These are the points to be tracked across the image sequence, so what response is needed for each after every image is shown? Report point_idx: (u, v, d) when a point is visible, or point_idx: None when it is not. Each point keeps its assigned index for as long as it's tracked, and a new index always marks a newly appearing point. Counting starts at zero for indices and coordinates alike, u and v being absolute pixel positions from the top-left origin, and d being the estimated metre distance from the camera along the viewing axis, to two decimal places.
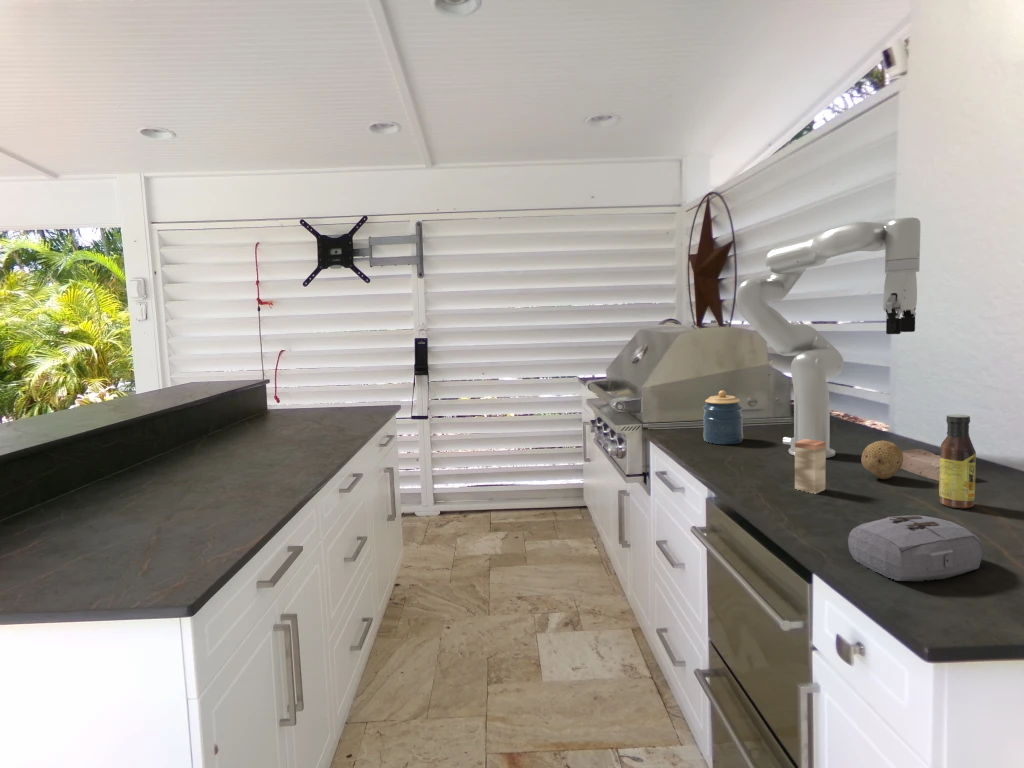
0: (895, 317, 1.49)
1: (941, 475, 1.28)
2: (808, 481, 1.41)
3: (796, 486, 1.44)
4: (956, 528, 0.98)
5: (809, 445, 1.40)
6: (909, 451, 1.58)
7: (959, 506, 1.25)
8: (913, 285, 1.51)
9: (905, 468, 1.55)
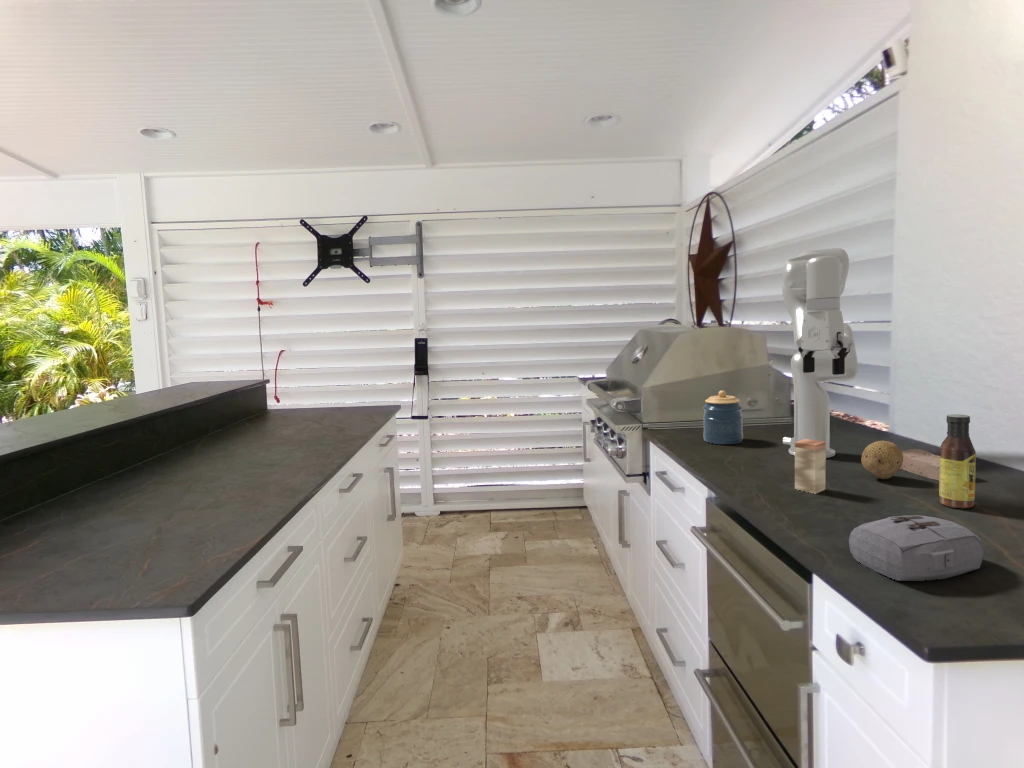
0: (844, 357, 1.43)
1: (941, 475, 1.28)
2: (808, 481, 1.41)
3: (796, 486, 1.44)
4: (957, 528, 0.98)
5: (809, 445, 1.40)
6: (908, 451, 1.58)
7: (959, 506, 1.25)
8: None
9: (905, 468, 1.55)
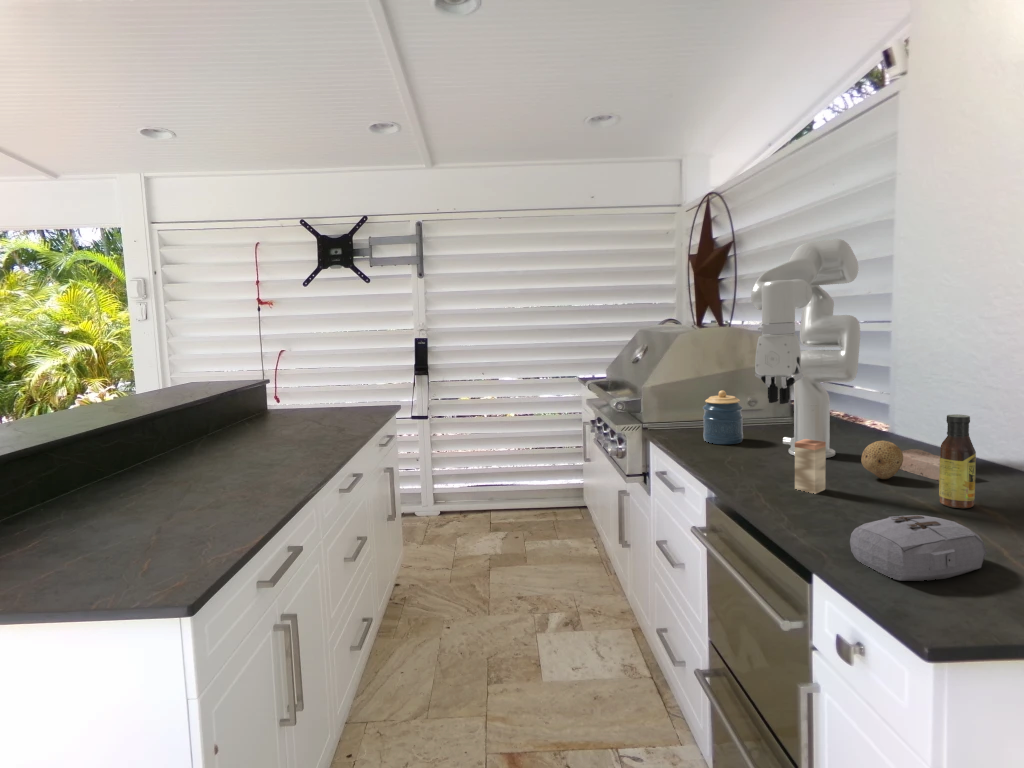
0: (790, 386, 1.46)
1: (941, 475, 1.28)
2: (808, 481, 1.41)
3: (796, 486, 1.44)
4: (958, 528, 0.98)
5: (809, 445, 1.40)
6: (907, 451, 1.58)
7: (959, 506, 1.25)
8: None
9: (905, 469, 1.55)
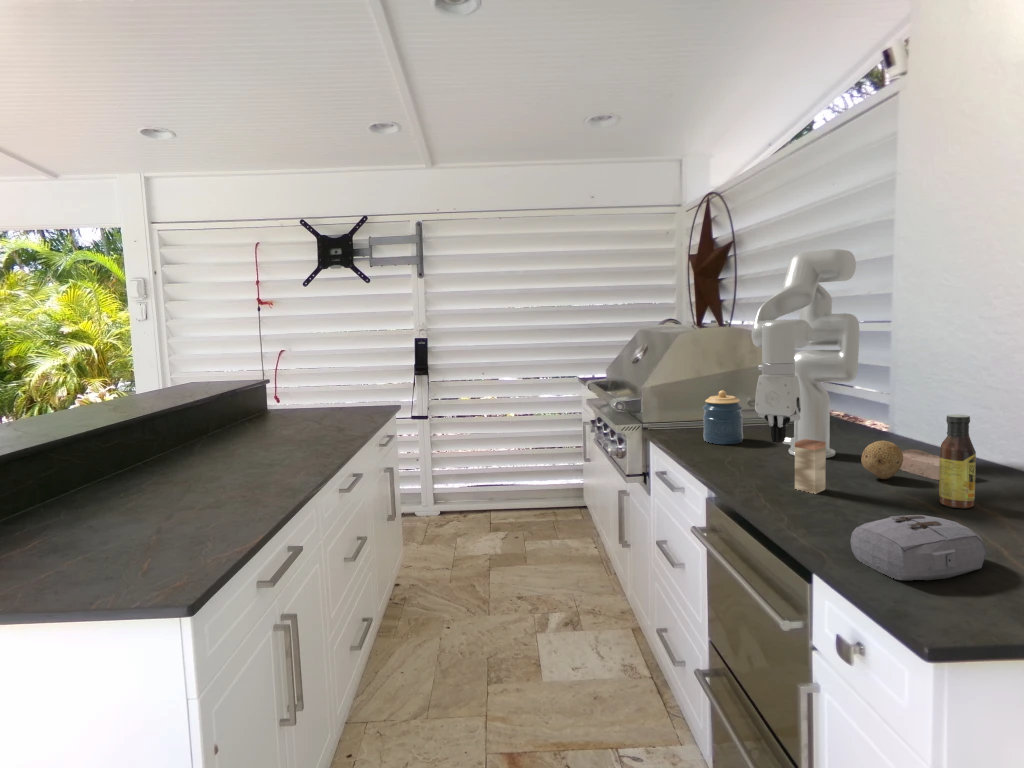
0: (786, 425, 1.47)
1: (941, 475, 1.28)
2: (808, 481, 1.41)
3: (796, 486, 1.44)
4: (959, 528, 0.98)
5: (809, 445, 1.40)
6: (906, 451, 1.58)
7: (959, 506, 1.25)
8: None
9: (905, 469, 1.55)
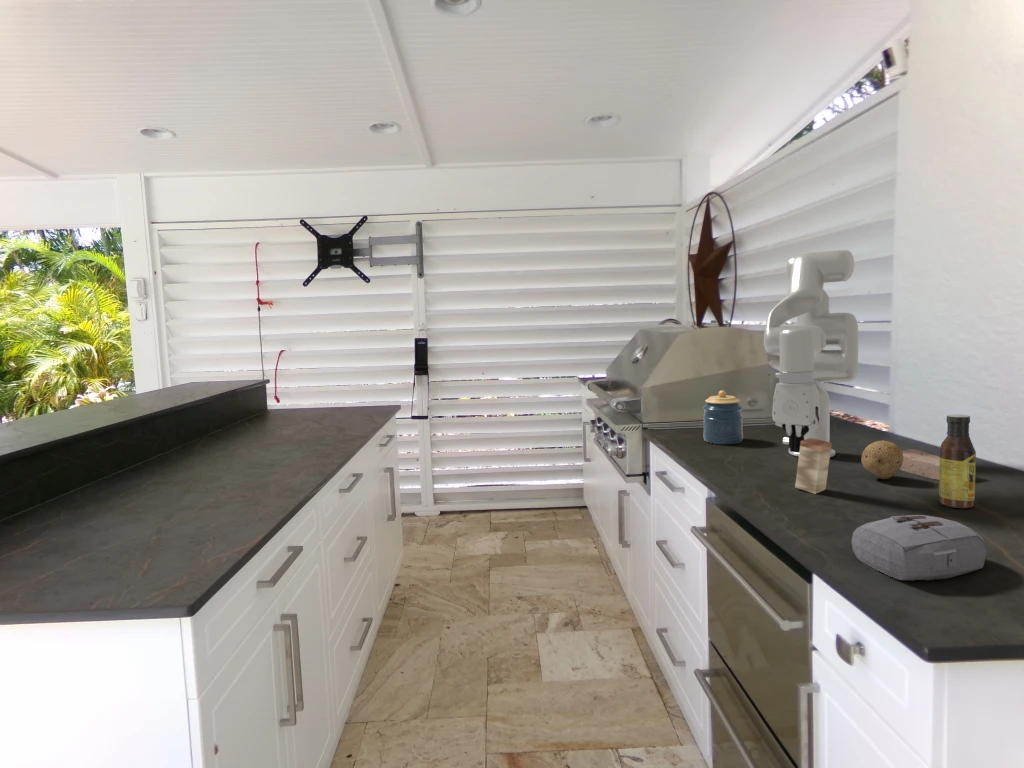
0: (804, 434, 1.44)
1: (941, 475, 1.28)
2: (809, 481, 1.41)
3: (797, 484, 1.44)
4: (960, 528, 0.98)
5: (815, 445, 1.39)
6: (905, 452, 1.58)
7: (959, 506, 1.25)
8: None
9: (904, 469, 1.54)
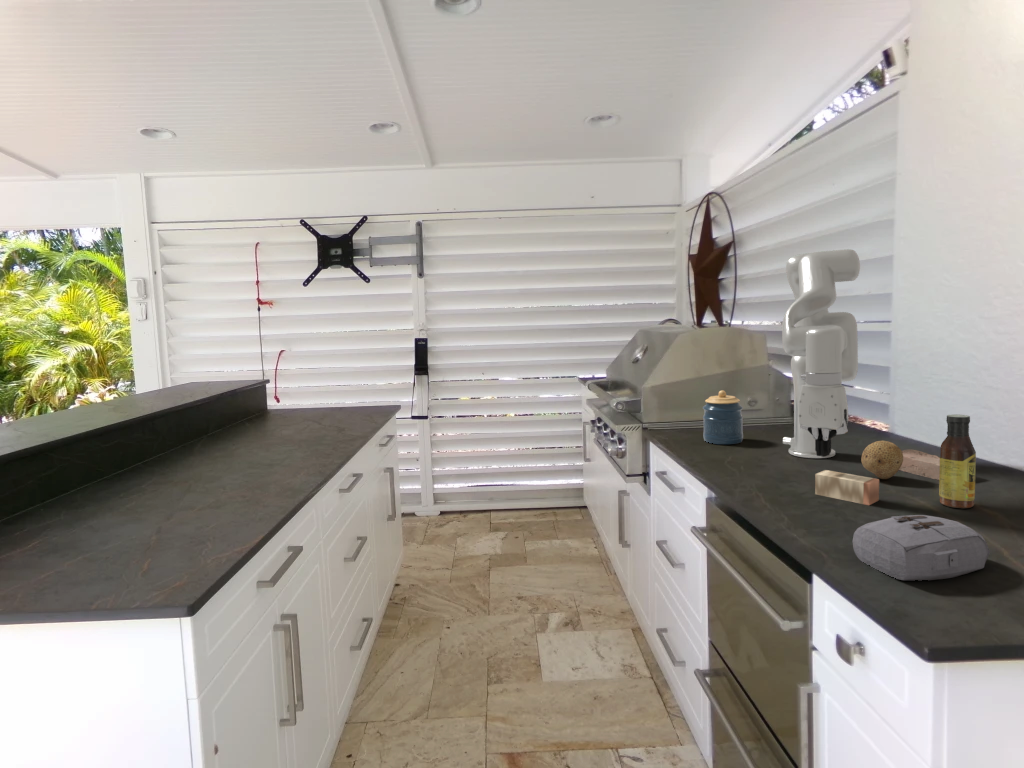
0: (831, 438, 1.39)
1: (941, 475, 1.28)
2: (827, 490, 1.38)
3: (819, 476, 1.39)
4: (961, 528, 0.98)
5: (867, 499, 1.31)
6: (904, 452, 1.58)
7: (959, 506, 1.25)
8: None
9: (904, 469, 1.54)
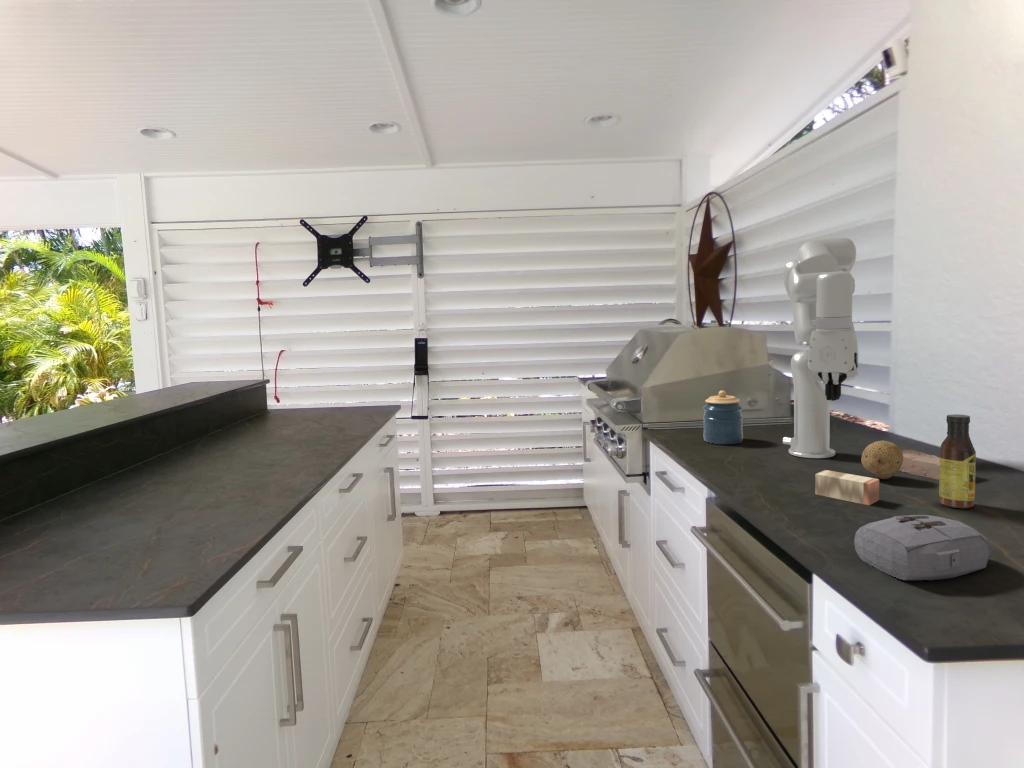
0: (841, 382, 1.41)
1: (941, 475, 1.28)
2: (827, 490, 1.38)
3: (819, 476, 1.39)
4: (963, 527, 0.98)
5: (867, 499, 1.31)
6: (902, 452, 1.58)
7: (959, 506, 1.25)
8: None
9: (905, 470, 1.54)
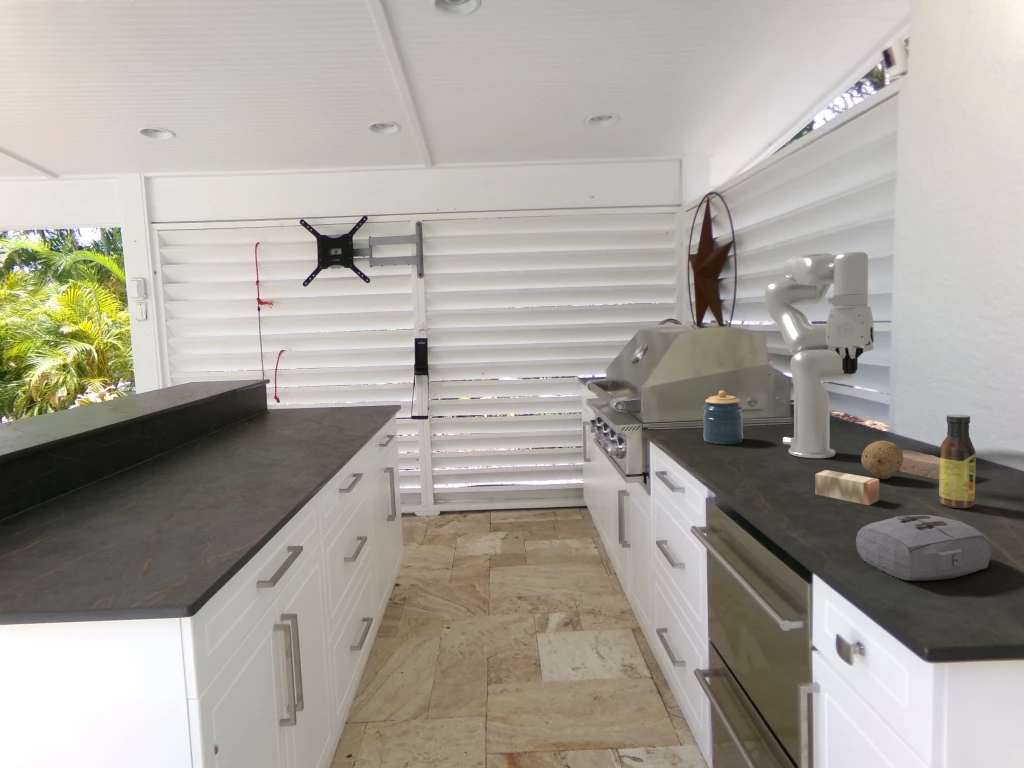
0: (858, 356, 1.49)
1: (941, 475, 1.28)
2: (827, 490, 1.38)
3: (819, 476, 1.39)
4: (964, 528, 0.98)
5: (867, 499, 1.31)
6: None
7: (959, 506, 1.25)
8: None
9: (905, 470, 1.53)
